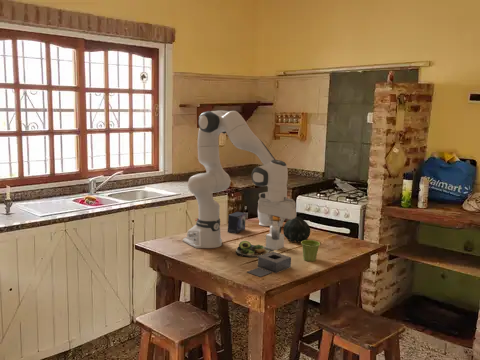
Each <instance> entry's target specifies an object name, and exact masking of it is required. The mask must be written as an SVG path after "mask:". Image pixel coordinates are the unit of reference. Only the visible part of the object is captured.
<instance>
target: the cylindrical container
mask: <svg viewBox="0 0 480 360" xmlns="http://www.w3.org/2000/svg"><path fill="white" fill-rule="evenodd" d="M280 221H281V219H280V217H277V216H272V239H273V240H279V239H280V226H278V222H280Z"/></svg>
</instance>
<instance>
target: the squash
mask: <svg viewBox="0 0 480 360" xmlns="http://www.w3.org/2000/svg"><path fill="white" fill-rule="evenodd" d="M282 233H283V234H284V238H286V239H287V240H289V241H290V242H292V243H293V242H296V243H301V242H302V241H304V240H308V238H309V236H310V234H311V227H310V225H309V224H308V222H307V221H305V219H304V218H301V217H300V216H296V217H295V219H291V220H290V219H287V220H286V221H285V223H284V224H283V231H282Z"/></svg>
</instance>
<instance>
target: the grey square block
mask: <svg viewBox="0 0 480 360" xmlns="http://www.w3.org/2000/svg"><path fill="white" fill-rule="evenodd" d="M257 268H262V269H265V270H268V271H270V272H272V273H274V274H277V273H280V272H283V271H285V270H288V269H290V268H292V257H291V256H289V255H285V254H282V253H279V252H275V251H271V252H269V253H268V254H265V255H262V256H259V257H257Z"/></svg>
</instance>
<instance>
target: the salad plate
mask: <svg viewBox="0 0 480 360" xmlns="http://www.w3.org/2000/svg"><path fill="white" fill-rule="evenodd" d="M271 252H275V250H274V249H270V248H267V247H266V245H265V246H264V245H261V244H256V245H254V244H252V242H250V241H248V240H242V241H240V242H239V244H238V247H237V248H236V250H235V254H236V255H237V256H240V257H243V258H244V257H245V258H258V257H259V256H262V255H265V254H268V253H271ZM261 254H262V255H261Z"/></svg>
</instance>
